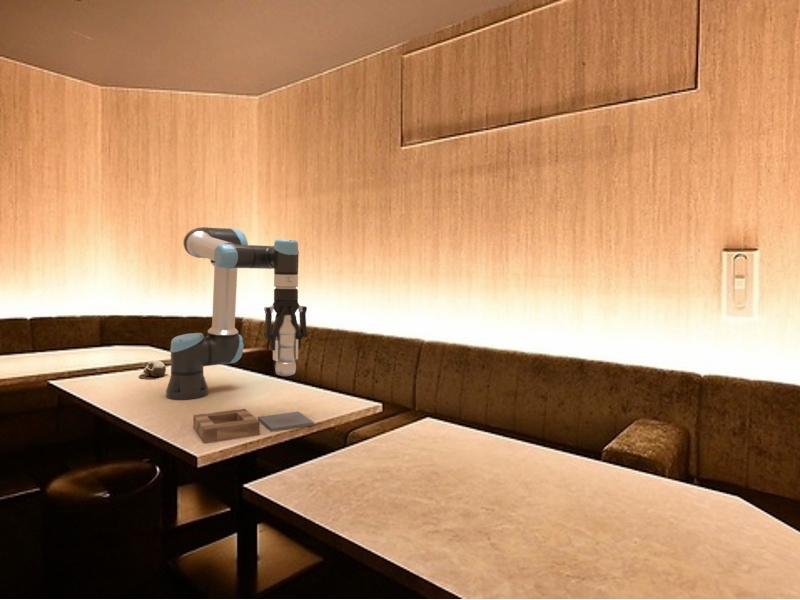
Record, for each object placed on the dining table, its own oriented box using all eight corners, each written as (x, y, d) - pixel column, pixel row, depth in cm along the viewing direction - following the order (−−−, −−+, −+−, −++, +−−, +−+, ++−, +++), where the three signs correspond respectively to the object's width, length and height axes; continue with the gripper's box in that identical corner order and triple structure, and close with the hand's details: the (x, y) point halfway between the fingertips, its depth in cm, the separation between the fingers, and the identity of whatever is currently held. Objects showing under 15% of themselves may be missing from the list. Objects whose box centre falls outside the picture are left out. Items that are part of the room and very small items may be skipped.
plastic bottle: (291, 378, 168) (292, 315, 167) (271, 376, 169) (272, 314, 168) (299, 374, 174) (300, 313, 173) (279, 373, 176) (280, 312, 174)
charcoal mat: (257, 419, 175) (257, 416, 175) (298, 414, 183) (298, 411, 183) (271, 431, 164) (271, 428, 163) (313, 425, 171) (314, 422, 171)
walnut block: (193, 427, 166) (193, 415, 165) (244, 420, 174) (244, 408, 174) (204, 443, 152) (204, 429, 152) (259, 434, 161) (259, 421, 160)
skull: (130, 376, 230) (141, 356, 236) (144, 388, 238) (154, 368, 244) (154, 377, 227) (164, 357, 233) (166, 389, 235) (176, 369, 241)
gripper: (260, 288, 162) (259, 363, 163) (318, 288, 172) (317, 359, 173) (253, 287, 168) (252, 359, 170) (309, 287, 178) (308, 355, 180)
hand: (285, 359), depth 172 cm, fingers closed on plastic bottle, 6 cm apart
